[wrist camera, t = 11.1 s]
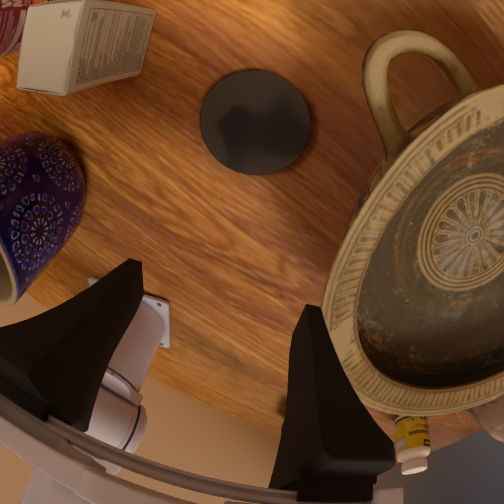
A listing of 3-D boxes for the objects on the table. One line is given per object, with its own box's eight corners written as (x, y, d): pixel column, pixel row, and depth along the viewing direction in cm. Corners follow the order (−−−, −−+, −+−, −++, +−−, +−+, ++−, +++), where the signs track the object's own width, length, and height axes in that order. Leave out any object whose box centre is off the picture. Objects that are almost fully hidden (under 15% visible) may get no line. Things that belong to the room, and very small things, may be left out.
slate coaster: (196, 161, 20) (193, 163, 20) (210, 62, 16) (208, 62, 16) (295, 183, 20) (295, 186, 20) (322, 84, 16) (322, 85, 16)
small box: (107, 6, 14) (26, 3, 7) (159, 9, 14) (84, -4, 8) (93, 69, 17) (13, 90, 10) (141, 77, 17) (64, 98, 11)
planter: (55, 239, 27) (-9, 312, 18) (6, 153, 22) (-74, 210, 13) (123, 207, 23) (41, 299, 15) (65, 95, 18) (-49, 145, 9)
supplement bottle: (432, 409, 36) (439, 464, 29) (413, 423, 40) (416, 474, 32) (407, 408, 36) (411, 467, 29) (388, 422, 40) (390, 476, 32)
